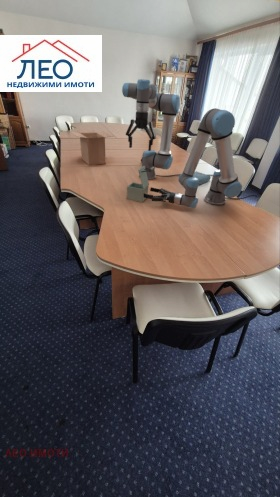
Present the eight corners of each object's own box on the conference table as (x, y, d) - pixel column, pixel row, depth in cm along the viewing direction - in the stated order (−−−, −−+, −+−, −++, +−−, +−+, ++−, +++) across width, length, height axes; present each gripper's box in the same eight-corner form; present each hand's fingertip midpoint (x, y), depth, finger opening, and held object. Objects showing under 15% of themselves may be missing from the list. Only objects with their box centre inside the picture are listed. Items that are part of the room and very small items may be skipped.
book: (195, 176, 216) (196, 171, 213) (209, 181, 207) (210, 176, 204) (181, 181, 202) (182, 175, 199) (195, 186, 194) (197, 180, 191)
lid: (138, 169, 149) (149, 167, 145) (143, 166, 156) (154, 163, 152) (142, 189, 155) (154, 187, 151) (147, 184, 163) (158, 183, 159)
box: (116, 165, 229) (116, 136, 213) (83, 168, 214) (80, 137, 198) (102, 154, 259) (101, 128, 243) (71, 156, 244) (68, 129, 228)
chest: (126, 198, 164) (127, 186, 159) (132, 194, 172) (132, 182, 166) (142, 202, 161) (143, 189, 155) (147, 197, 168) (148, 185, 163)
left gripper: (120, 109, 134) (120, 147, 146) (159, 114, 127) (155, 153, 140) (126, 109, 139) (125, 145, 152) (163, 113, 133) (159, 150, 145)
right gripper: (169, 210, 147) (140, 203, 153) (179, 197, 166) (152, 191, 172) (170, 199, 143) (140, 193, 149) (180, 187, 162) (153, 181, 168)
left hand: (139, 149), depth 146 cm, fingers open, 13 cm apart
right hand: (147, 192), depth 161 cm, fingers open, 13 cm apart
